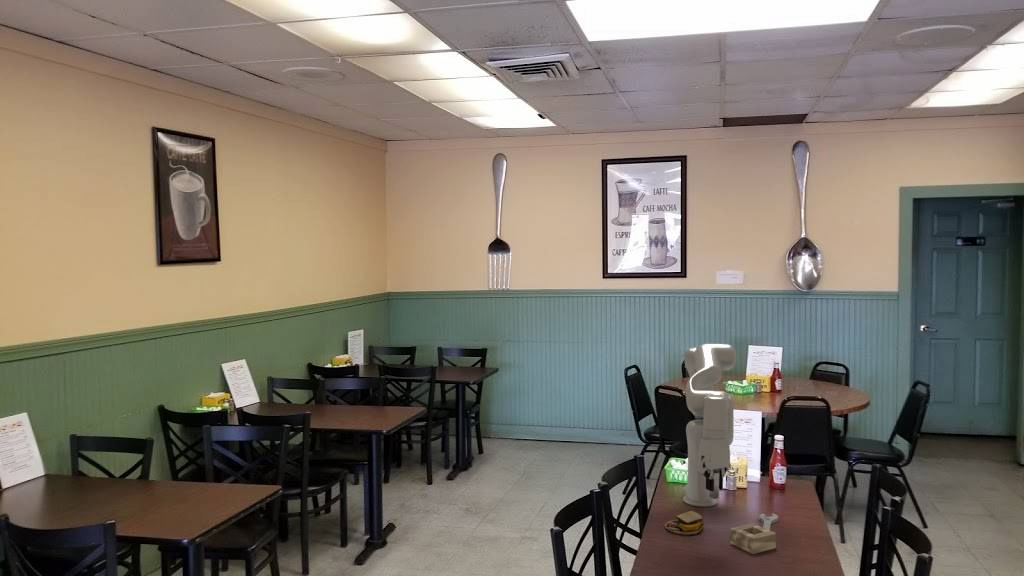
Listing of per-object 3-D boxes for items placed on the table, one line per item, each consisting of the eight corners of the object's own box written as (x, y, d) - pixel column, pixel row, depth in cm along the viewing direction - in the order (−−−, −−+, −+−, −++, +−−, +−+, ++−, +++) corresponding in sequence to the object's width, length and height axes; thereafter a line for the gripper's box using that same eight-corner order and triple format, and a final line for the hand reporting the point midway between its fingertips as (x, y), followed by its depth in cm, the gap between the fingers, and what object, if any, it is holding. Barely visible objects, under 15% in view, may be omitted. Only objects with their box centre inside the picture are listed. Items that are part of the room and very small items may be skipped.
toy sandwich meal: (658, 524, 268) (658, 511, 268) (693, 521, 271) (693, 508, 271) (675, 538, 256) (675, 524, 255) (711, 534, 259) (711, 520, 259)
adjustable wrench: (768, 543, 252) (768, 538, 252) (748, 540, 255) (748, 535, 255) (779, 519, 274) (779, 514, 274) (760, 516, 277) (760, 511, 277)
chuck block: (730, 543, 251) (730, 528, 250) (752, 537, 255) (752, 523, 255) (753, 554, 242) (753, 538, 242) (775, 548, 247) (775, 533, 246)
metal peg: (706, 496, 248) (706, 467, 247) (714, 494, 250) (714, 466, 249) (713, 499, 245) (714, 470, 244) (721, 497, 247) (722, 468, 246)
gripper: (726, 428, 253) (725, 482, 254) (687, 433, 246) (686, 489, 247) (742, 433, 247) (741, 488, 248) (703, 439, 239) (702, 496, 240)
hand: (714, 488), depth 247 cm, fingers closed on metal peg, 3 cm apart
